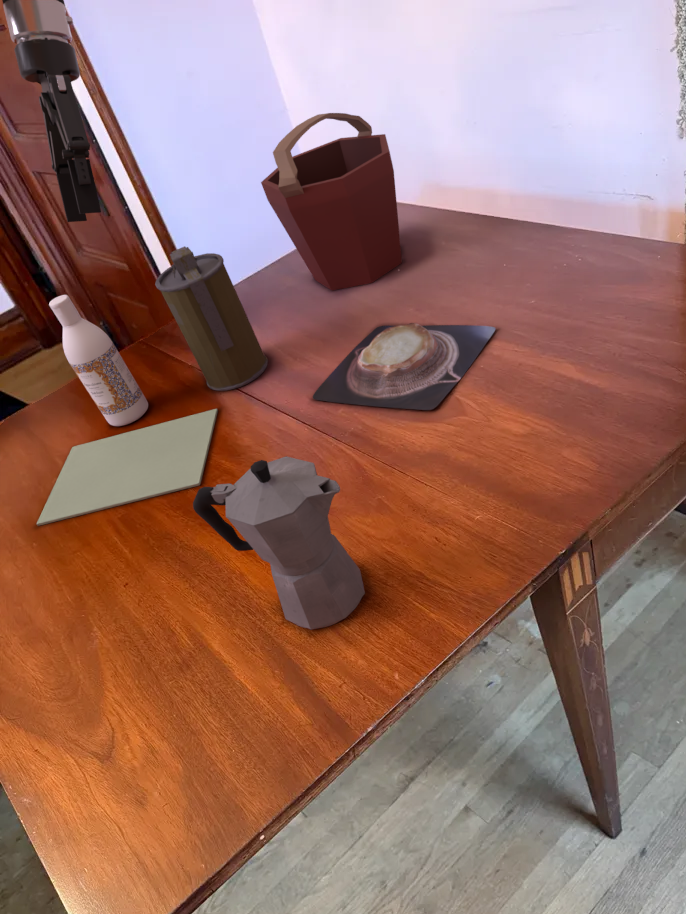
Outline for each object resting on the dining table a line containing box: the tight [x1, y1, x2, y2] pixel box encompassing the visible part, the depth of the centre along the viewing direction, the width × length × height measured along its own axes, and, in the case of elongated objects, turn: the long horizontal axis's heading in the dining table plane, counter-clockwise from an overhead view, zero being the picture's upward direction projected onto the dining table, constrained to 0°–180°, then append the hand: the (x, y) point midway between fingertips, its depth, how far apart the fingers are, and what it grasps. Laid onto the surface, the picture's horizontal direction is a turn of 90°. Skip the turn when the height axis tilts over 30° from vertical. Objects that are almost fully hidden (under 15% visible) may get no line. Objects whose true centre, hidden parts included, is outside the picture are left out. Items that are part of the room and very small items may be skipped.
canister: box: [154, 246, 269, 392], centre depth 113 cm, size 11×10×20 cm
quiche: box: [312, 322, 496, 411], centre depth 106 cm, size 21×20×4 cm
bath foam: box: [48, 294, 149, 427], centre depth 112 cm, size 7×7×20 cm
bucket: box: [260, 112, 403, 291], centre depth 129 cm, size 24×22×25 cm
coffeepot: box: [192, 455, 366, 630], centre depth 72 cm, size 15×9×18 cm, turn 78°
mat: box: [36, 408, 219, 527], centre depth 107 cm, size 24×18×1 cm
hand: (83, 217), depth 107 cm, fingers open, 13 cm apart
